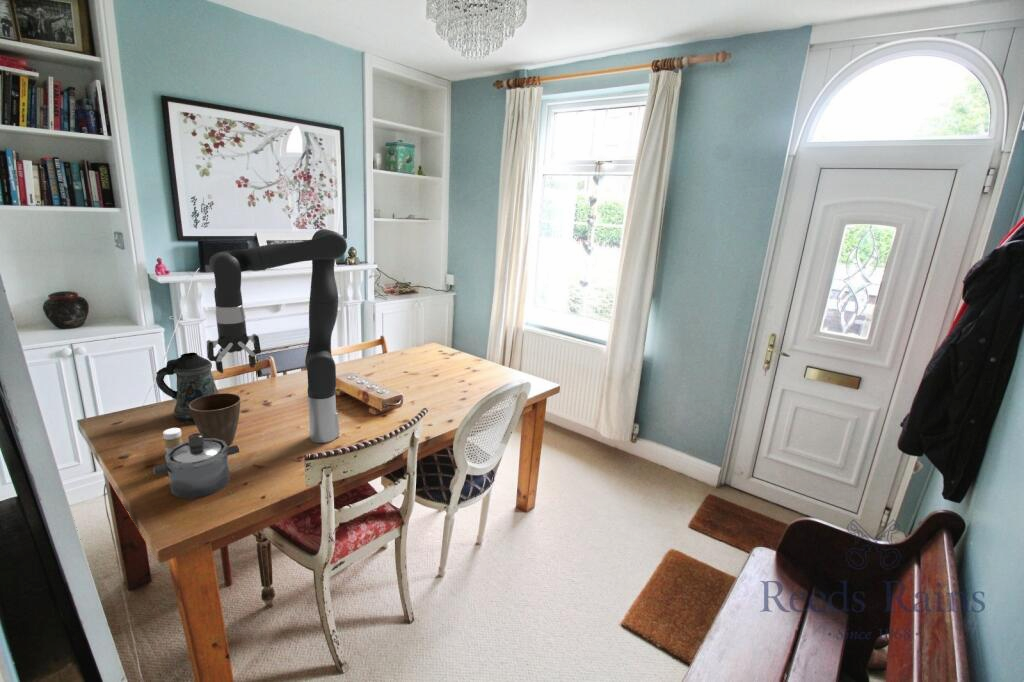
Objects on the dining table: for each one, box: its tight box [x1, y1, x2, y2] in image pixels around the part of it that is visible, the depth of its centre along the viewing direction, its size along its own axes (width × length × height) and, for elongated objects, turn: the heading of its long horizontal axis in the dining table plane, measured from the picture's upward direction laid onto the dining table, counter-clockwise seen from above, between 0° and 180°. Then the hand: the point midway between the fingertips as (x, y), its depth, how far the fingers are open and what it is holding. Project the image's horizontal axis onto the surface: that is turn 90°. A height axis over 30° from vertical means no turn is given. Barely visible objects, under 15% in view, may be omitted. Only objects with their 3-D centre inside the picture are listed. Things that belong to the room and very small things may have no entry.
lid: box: [173, 432, 222, 463], centre depth 139 cm, size 12×12×6 cm
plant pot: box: [189, 392, 241, 447], centre depth 163 cm, size 15×15×16 cm
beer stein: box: [155, 352, 220, 425], centre depth 179 cm, size 16×19×25 cm
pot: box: [152, 438, 240, 499], centre depth 141 cm, size 21×15×11 cm
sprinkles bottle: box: [162, 427, 183, 455], centre depth 147 cm, size 5×5×14 cm
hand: (236, 369), depth 147 cm, fingers open, 8 cm apart
